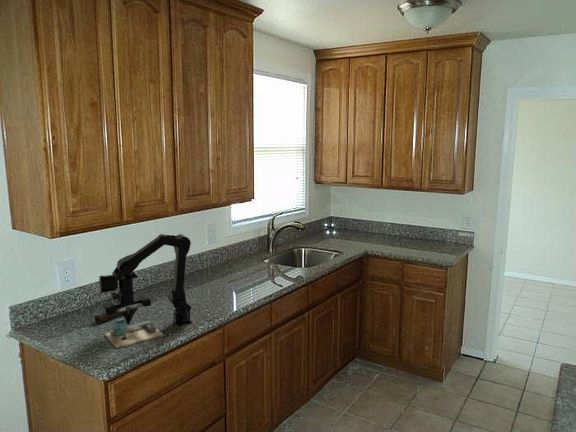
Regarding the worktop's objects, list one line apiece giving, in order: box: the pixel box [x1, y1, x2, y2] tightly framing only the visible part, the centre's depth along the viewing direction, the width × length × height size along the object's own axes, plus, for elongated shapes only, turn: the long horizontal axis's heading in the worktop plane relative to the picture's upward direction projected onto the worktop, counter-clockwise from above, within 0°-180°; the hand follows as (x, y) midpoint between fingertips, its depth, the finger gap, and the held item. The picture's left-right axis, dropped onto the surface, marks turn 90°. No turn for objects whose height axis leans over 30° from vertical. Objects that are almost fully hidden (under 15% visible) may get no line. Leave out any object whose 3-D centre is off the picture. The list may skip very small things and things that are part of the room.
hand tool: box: [94, 307, 127, 325], centre depth 206 cm, size 19×4×5 cm, turn 145°
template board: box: [104, 327, 164, 349], centre depth 187 cm, size 19×15×1 cm
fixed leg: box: [145, 322, 157, 333], centre depth 191 cm, size 2×6×4 cm, turn 38°
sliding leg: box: [112, 318, 128, 338], centre depth 185 cm, size 4×9×5 cm, turn 38°
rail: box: [108, 320, 152, 337], centre depth 190 cm, size 17×2×2 cm, turn 128°
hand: (128, 324), depth 189 cm, fingers closed
